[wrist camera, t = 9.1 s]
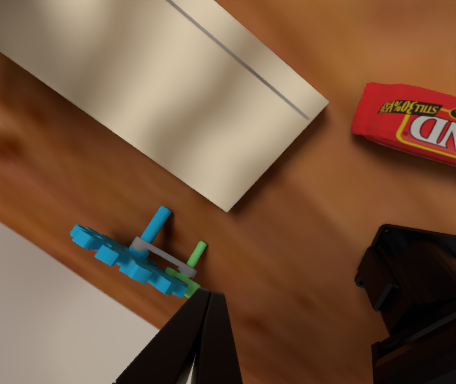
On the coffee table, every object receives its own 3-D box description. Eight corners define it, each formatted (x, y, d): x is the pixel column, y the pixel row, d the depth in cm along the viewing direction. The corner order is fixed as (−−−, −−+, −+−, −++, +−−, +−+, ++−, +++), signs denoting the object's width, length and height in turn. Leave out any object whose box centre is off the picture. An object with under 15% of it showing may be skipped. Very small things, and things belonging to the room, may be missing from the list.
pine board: (323, 96, 17) (329, 101, 15) (230, 199, 21) (226, 212, 20) (-25, -210, 13) (-73, -252, 11) (-48, -2, 17) (-85, -8, 15)
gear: (70, 234, 24) (51, 251, 15) (111, 180, 25) (116, 166, 16) (173, 288, 27) (208, 328, 18) (202, 238, 29) (247, 252, 20)
